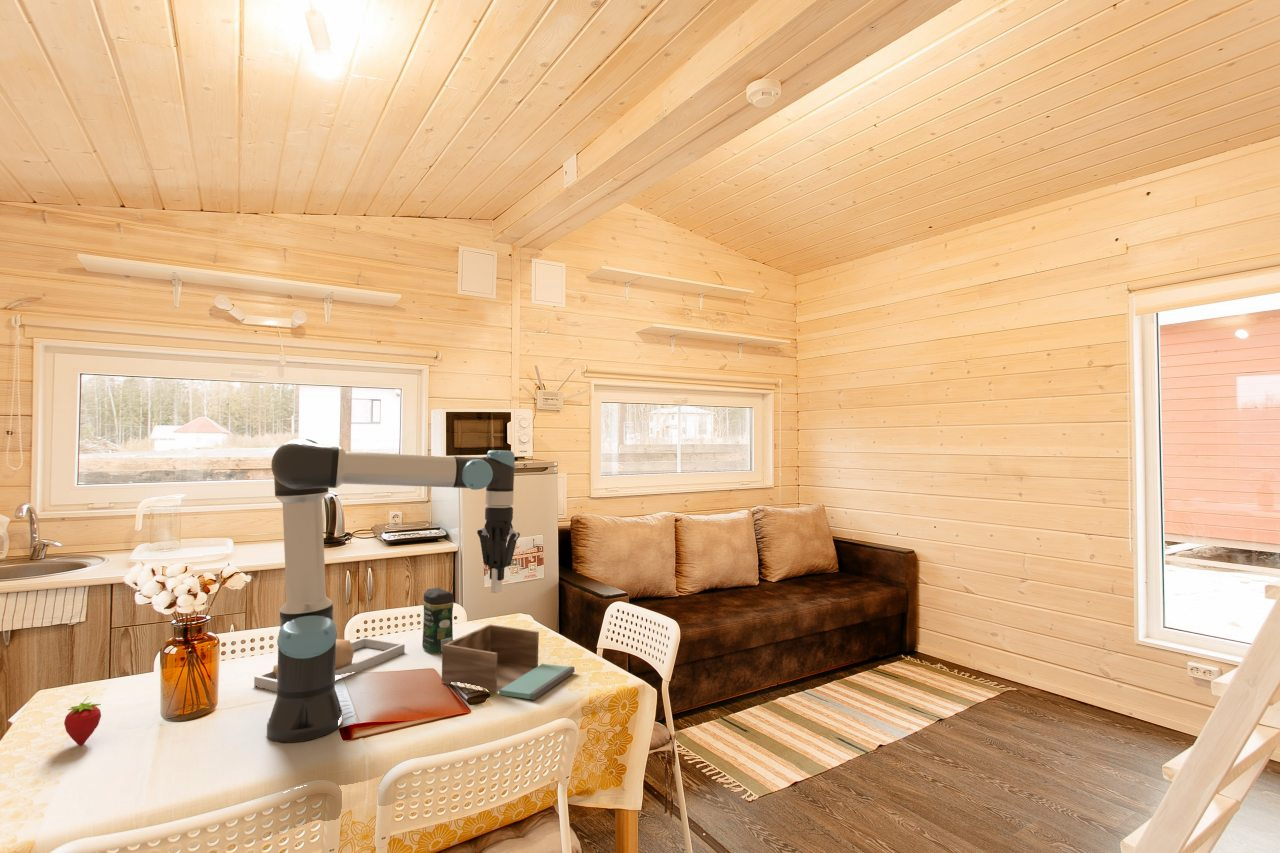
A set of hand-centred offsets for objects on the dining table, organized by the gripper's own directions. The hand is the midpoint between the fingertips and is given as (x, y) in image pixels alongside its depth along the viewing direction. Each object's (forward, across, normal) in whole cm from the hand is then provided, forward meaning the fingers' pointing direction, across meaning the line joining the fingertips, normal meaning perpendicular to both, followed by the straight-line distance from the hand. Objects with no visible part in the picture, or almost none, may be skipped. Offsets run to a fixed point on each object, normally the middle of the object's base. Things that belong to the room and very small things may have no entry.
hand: (496, 591), depth 179 cm
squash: (+24, +44, +21) cm, 54 cm away
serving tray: (+24, +43, +15) cm, 52 cm away
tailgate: (+22, -10, +1) cm, 24 cm away
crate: (+23, -1, +1) cm, 23 cm away
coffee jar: (+24, +29, -11) cm, 39 cm away
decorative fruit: (+25, +53, +70) cm, 91 cm away
